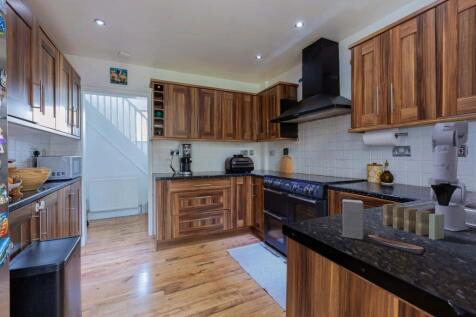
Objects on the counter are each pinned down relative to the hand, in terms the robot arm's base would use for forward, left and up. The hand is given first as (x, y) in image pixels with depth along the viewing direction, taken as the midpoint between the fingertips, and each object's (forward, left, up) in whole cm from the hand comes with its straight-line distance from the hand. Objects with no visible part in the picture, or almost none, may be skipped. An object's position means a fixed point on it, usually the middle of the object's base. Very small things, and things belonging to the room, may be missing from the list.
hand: (443, 205), depth 76 cm
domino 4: (+4, -3, -10) cm, 12 cm away
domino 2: (+4, -11, -10) cm, 16 cm away
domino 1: (+4, -15, -10) cm, 19 cm away
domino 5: (+4, 0, -10) cm, 11 cm away
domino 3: (+4, -7, -10) cm, 14 cm away
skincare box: (+30, -9, -11) cm, 34 cm away
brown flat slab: (+24, 0, -11) cm, 27 cm away
